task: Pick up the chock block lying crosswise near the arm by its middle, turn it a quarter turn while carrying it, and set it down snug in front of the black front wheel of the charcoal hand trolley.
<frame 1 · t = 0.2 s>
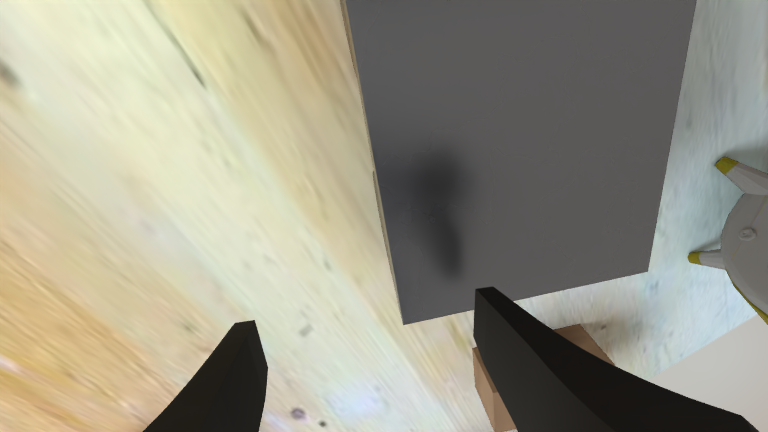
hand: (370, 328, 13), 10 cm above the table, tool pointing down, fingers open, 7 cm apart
alarm clock: (735, 187, 25), on the table
chock: (525, 354, 29), on the table
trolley: (453, 97, 20), on the table
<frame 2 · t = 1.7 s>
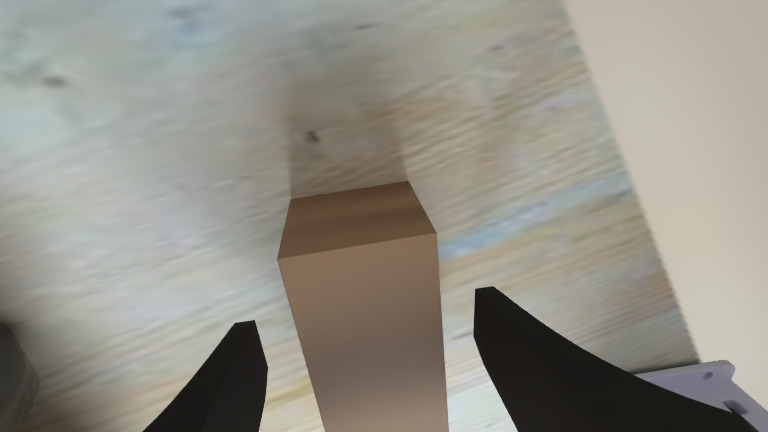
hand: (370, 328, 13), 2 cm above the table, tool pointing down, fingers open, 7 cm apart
chock: (365, 283, 15), on the table
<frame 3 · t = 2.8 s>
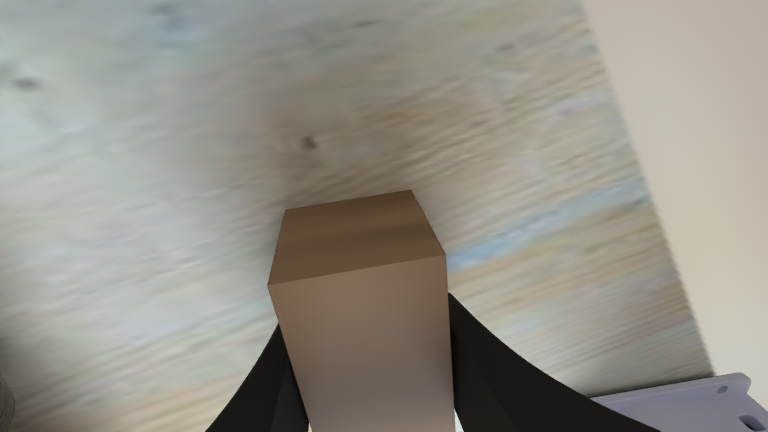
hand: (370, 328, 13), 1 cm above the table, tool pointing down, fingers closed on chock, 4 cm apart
chock: (366, 300, 14), on the table, touching gripper
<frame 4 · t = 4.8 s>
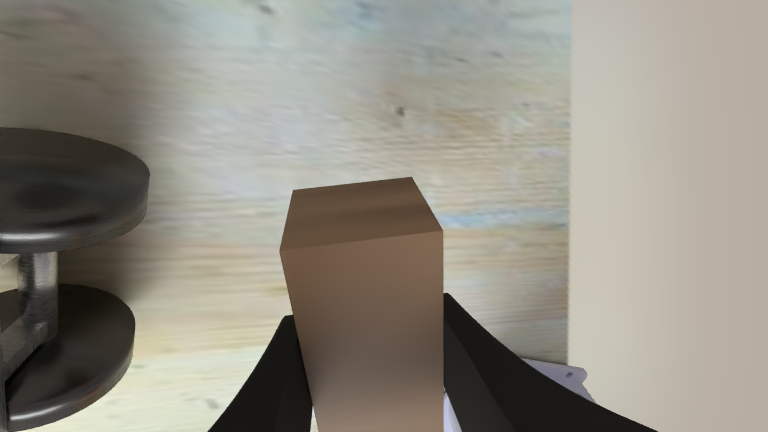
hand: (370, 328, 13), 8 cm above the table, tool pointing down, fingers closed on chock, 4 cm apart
chock: (364, 281, 15), point 6 cm above the table, touching gripper
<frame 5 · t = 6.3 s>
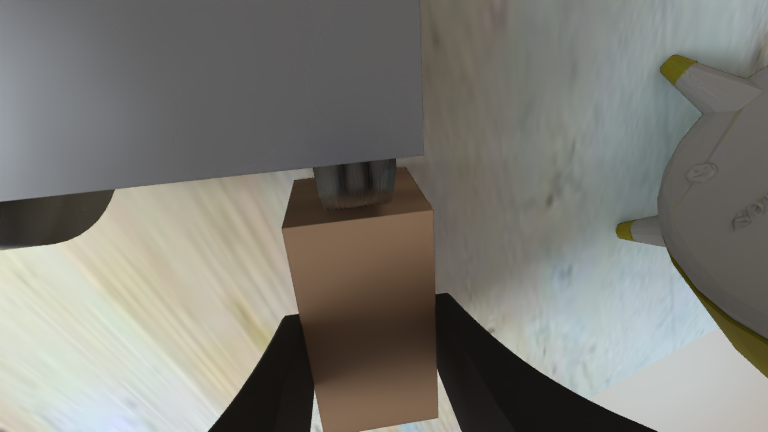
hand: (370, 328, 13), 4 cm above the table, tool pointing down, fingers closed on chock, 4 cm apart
alarm clock: (692, 120, 16), on the table
chock: (361, 269, 15), point 1 cm above the table, touching gripper
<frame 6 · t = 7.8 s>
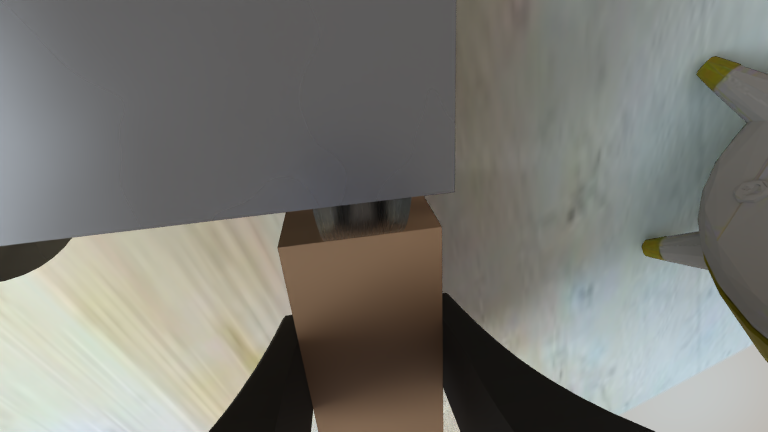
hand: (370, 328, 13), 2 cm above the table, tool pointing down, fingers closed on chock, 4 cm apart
alarm clock: (728, 128, 14), on the table
chock: (363, 279, 15), on the table, touching gripper
when the fingers open (2 cm above the table, at t = 7.8 s): chock stays where it is, on the table.
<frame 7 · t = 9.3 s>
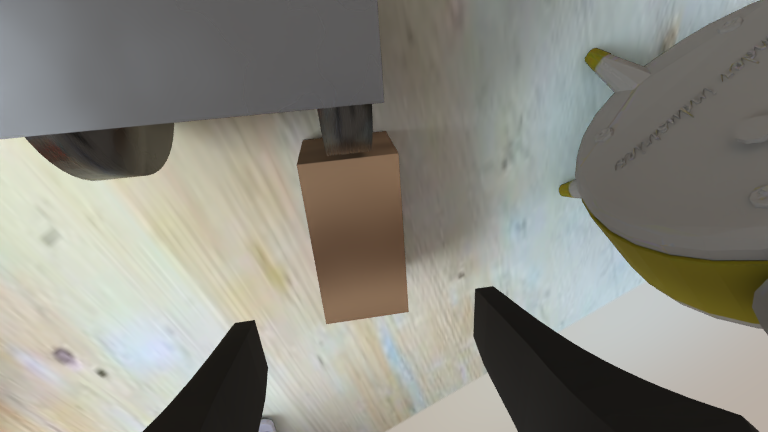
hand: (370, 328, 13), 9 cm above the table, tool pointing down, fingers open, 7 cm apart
alarm clock: (616, 100, 20), on the table
chock: (353, 209, 20), on the table
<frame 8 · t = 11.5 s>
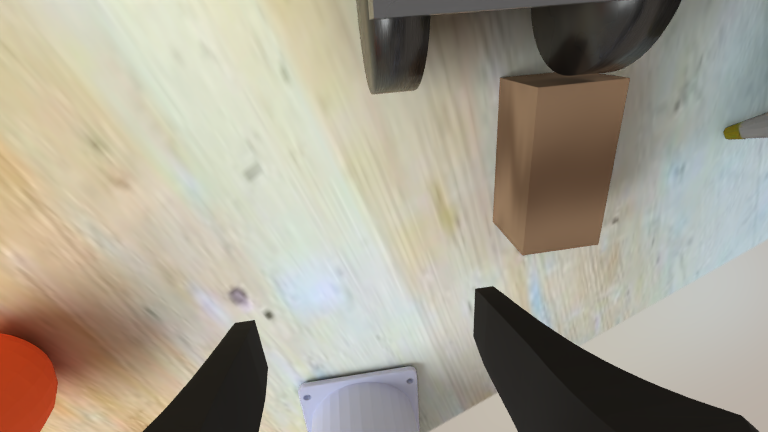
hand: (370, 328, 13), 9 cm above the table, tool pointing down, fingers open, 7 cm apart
clementine: (15, 344, 22), on the table
chock: (529, 150, 21), on the table
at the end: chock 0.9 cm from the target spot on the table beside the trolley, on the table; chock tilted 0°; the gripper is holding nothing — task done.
